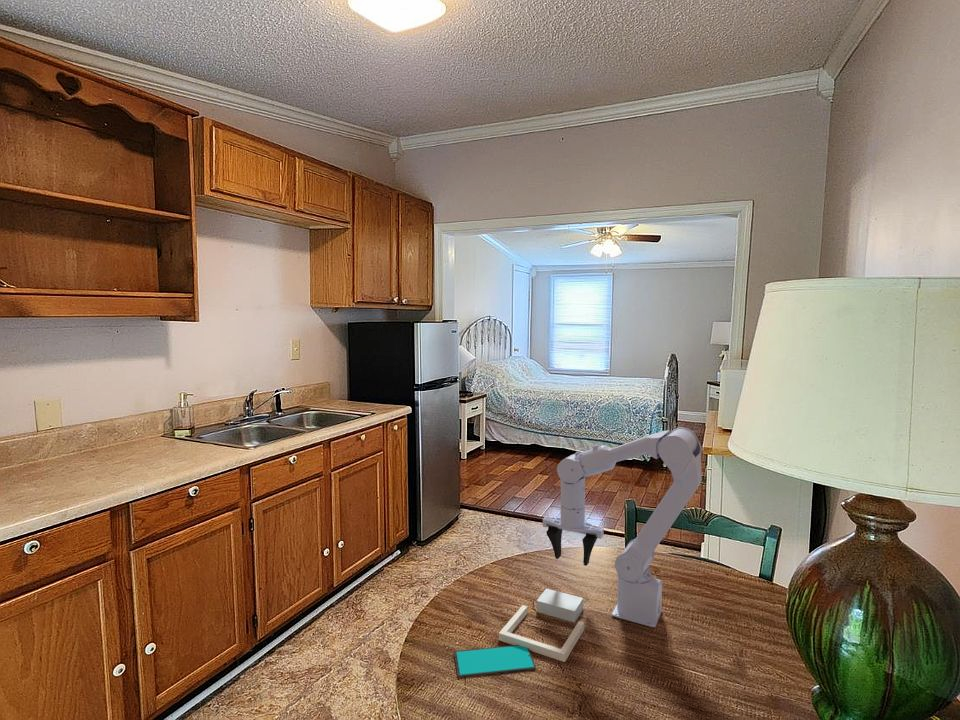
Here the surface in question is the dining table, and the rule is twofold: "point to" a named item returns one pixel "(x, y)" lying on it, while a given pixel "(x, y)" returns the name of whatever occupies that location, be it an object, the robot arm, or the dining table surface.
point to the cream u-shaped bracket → (537, 646)
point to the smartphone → (493, 661)
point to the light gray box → (560, 605)
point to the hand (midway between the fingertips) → (572, 560)
